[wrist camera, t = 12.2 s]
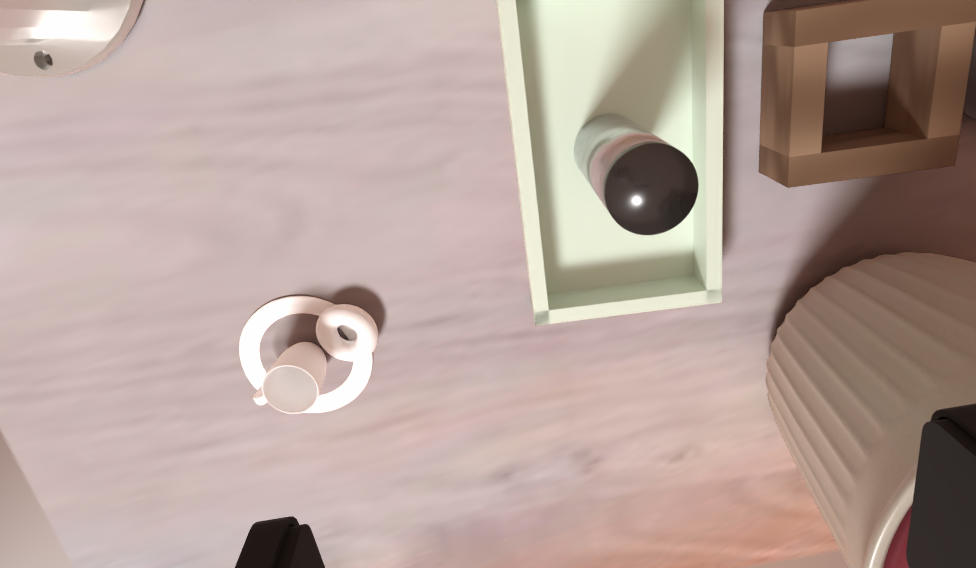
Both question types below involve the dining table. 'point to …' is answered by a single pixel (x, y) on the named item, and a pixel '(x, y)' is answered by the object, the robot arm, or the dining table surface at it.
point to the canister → (872, 389)
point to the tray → (643, 99)
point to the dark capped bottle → (636, 174)
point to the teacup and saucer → (309, 355)
